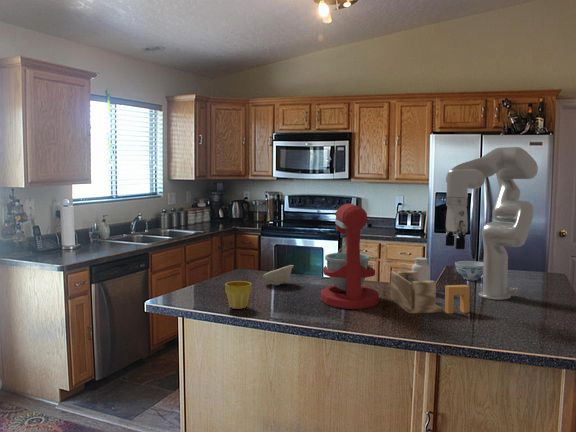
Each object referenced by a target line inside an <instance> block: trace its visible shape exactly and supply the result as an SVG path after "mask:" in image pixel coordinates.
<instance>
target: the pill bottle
mask: <svg viewBox="0 0 576 432" xmlns="http://www.w3.org/2000/svg"><path fill="white" fill-rule="evenodd" d="M411 271H417V272H418V280H419V281H431V266H430V265H429V264H428V258H427V257H415V258H414V264H412V265H411Z"/></svg>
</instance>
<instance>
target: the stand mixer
mask: <svg viewBox="0 0 576 432" xmlns="http://www.w3.org/2000/svg"><path fill="white" fill-rule="evenodd" d="M334 216H335V230H336V231H337V232H339V233H340V234H344V236H345V237H343V238H342V240H343V241H344V242H343V244H342V245H341V247H340V248H339V250H338V251H337V252H335V253H332V252H331V253H329V254H326V255H325V256H324V259H325V261H326V265H325V266H324V267H322V272H323V275H325V276H327V277H329V279H330V280H329V281H331V283H332V284H333V285H329V286H326V287H323V288H322V290H321V291H320V300H321V302H322V301H323V302H322V303H324V304H325V305H328V306H330V307H333V308H339V309H344V310H362V309H368V308H373V307H375V306H376V305H378V304H379V302H380V296H379V295H380V294H379V292H378V291H377V290H375V289H374V288H371V287H368V286H363V285H362V284H363V283H364V282H365V280H366V278H370V277H374V276H376V270H375V268H373V267H372V266H370V265H369V264H368V263H369V261H370V259H371V258H370V256H371V255H368V254H365V253H361V248H360V247H361V246H360V245H361V231H362V229H367V228H372V227H373V224H372V223H367V222H368V214H367V212H366V210H365V209H364V208H362V207H361V206H359V205H356V204H354V203H345V204H342V205H340V207H338V208H337V210H336V212H334ZM340 292H346V293H340Z"/></svg>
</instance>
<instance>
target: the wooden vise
mask: <svg viewBox="0 0 576 432" xmlns="http://www.w3.org/2000/svg"><path fill="white" fill-rule="evenodd" d="M436 288H437V282H436V281H435V280H433V279H432V280H431V279H430V281H419V280H418V272H417V271H412V270H401V271H400V270H399V271H398V270H397V271H396V272H395V271H393V270H391V271H390V295H389V296H390V299H391V300H392V301H393V302H394V303H396V304H397V305H398V306H399V307H400V308H401V309H403V310H404V311H405V312H406V313H408V314H425V313H426V314H427V313H443V307H441V306H440V305H438V304H437V303H436V291H437V289H436Z"/></svg>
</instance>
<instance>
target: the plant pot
mask: <svg viewBox="0 0 576 432" xmlns="http://www.w3.org/2000/svg"><path fill="white" fill-rule="evenodd" d="M252 285H253V284H252V282H250V281H243V280H234V281H228V282H225V284H224V289H225V290H224V291H225V293H226V296H227V301H228V305H229V308H230V307H232V308H244V307H246V306H247V307H248V304H249V298H250V295H251V293H252V289H253V288H252Z"/></svg>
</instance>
